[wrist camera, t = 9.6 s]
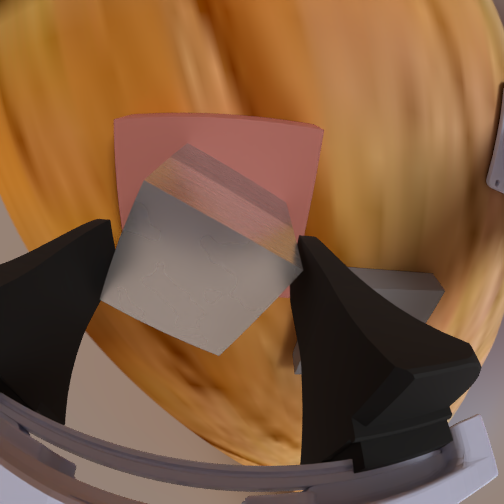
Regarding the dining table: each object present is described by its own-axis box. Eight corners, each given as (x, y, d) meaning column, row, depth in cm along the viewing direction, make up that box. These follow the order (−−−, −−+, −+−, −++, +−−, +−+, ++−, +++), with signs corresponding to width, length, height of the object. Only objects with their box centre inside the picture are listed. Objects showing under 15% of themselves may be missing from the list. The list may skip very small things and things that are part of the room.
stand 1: (314, 124, 12) (324, 129, 10) (286, 275, 17) (289, 297, 15) (131, 114, 11) (113, 119, 10) (142, 262, 16) (131, 282, 15)
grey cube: (285, 202, 12) (303, 270, 8) (228, 277, 14) (219, 355, 10) (187, 143, 11) (143, 180, 6) (142, 231, 13) (99, 299, 9)
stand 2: (432, 273, 17) (445, 290, 15) (386, 351, 22) (392, 369, 20) (321, 264, 16) (327, 286, 15) (292, 354, 21) (294, 374, 19)
